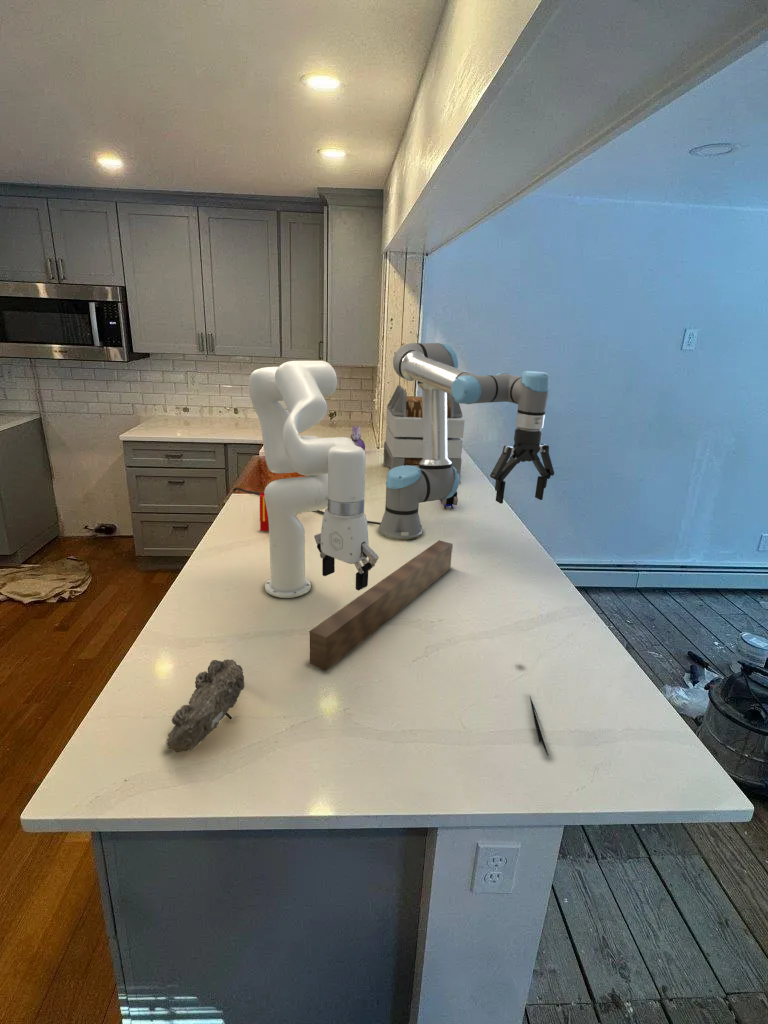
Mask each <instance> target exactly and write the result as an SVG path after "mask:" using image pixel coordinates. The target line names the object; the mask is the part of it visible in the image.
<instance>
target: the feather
mask: <svg viewBox="0 0 768 1024" xmlns="http://www.w3.org/2000/svg"><path fill="white" fill-rule="evenodd" d="M529 701H530V706H531V710H532V715H533V721H534V726H535V729H536V733H537V738H538V743H539V744H540V743H541V744H542V746H543V748H544V750H545V752H546V755H547V756H549V753H548V750H547V747H546V744H547V746H549V745H548V744H549V743H546V742H545V740H544V738H546V737H547V736H546V734H545V731H544V727H543V726H540V724H542V722H541V721H540V717H539V715H538V712H537V710H536V708H535V705H534V702H533V700H532V698H531V696H529ZM545 743H546V744H545Z"/></svg>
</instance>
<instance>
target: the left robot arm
mask: <svg viewBox="0 0 768 1024" xmlns="http://www.w3.org/2000/svg"><path fill="white" fill-rule="evenodd" d="M337 387H338V377H337V373H336V370H335V369H334V367H333V366H332V364H330V363H329V362H327V361H326V360H289V361H286V362H283V363H281V364H280V365H279V366H266V367H261V368H257V369H255V370H253V371H252V372H251V374H250V375H249V378H248V393H249V396H250V401H251V403H252V406H253V409H254V410H255V412H256V415H257V418H258V420H259V425H260V430H261V438H262V445H263V452H264V459H265V464H266V467H267V470H268V471H269V472H270V473H273V474H291V473H292V474H293V473H297V474H299V475H301V476H299V477H298V476H295V477H287V478H285V477H284V478H278V479H275V480H272V481H270V482H269V483H268V484H267V485H266V486H265V488H264V491H263V493H264V497H265V503H266V508H267V513H268V521H269V531H268V538H269V539H268V540H269V574H270V578H269V579H268V580H267V581H266V582H265V583H264V591H265V592H266V593H267V594H269V596H273V597H276V598H282V599H292V598H297V597H301V596H303V595H305V594H308V592H309V591H310V590H311V587H312V585H311V583H312V582H311V581H310V580H309V578H307V577H306V531H305V530H306V529H305V526H304V524H303V522H301V521H300V519H299V518H297V515H298V514H303V513H310V512H316V511H318V510H320V511H323V510H324V511H323V512H324V514H323V516H322V522H321V528H320V530H321V531H320V533H317V534H315V535H314V536H313V538H314V541H315V544H316V548H317V550H318V552H319V553H320V554H319V558H320V559H322V561H321V562H322V564H321V565H322V567H321V569H322V571H321V572H322V576H323V577H328V576H329V575H332V574H334V573H335V572H336V571H335V564H336V563H335V562H336V561H335V560H337V561H341V562H343V563H346V564H349V565H354V566H355V568H356V570H357V572H356V573H355V590H356V591H361V590H363V589H365V588H367V587H368V586H369V571H371V569H373V568H374V567H375V566H376V563H377V562H378V560H379V555H378V553H376V552H375V550H373V549H372V548H371V546H369V528H368V523H367V521H368V519H367V514H366V513H365V496H366V492H365V491H366V489H365V488H366V460H367V459H366V452H365V451H366V450H365V451H364V450H363V449H362V448H361V447H359V446H356V445H355V444H354V442H353V441H352V439H351V438H349V437H346V436H336V437H334V436H333V437H318V436H315V435H312V434H311V435H309V434H308V435H300V434H301V433H303V432H305V431H307V430H309V429H311V428H312V427H314V426H316V425H318V424H319V423H320V422H322V420H324V418H325V417H326V415H327V412H328V404H327V401H326V399H325V398H328V397H331V396H333V394H334V393H335V392H336V390H337ZM281 402H284V404H285V406H286V407H285V406H284V405H283V404H281Z"/></svg>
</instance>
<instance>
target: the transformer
mask: <svg viewBox="0 0 768 1024" xmlns="http://www.w3.org/2000/svg"><path fill="white" fill-rule="evenodd" d="M407 394H408V393H407V390H406V389H404V388H403V387H402V385H399V384H398V385H397V386H396V388H395V390H394V392H393V394H392V395H391V398H390V400H389V402H388V404H387V405H386V413H385V414H386V415H385V423H386V428H385V438H384V442H383V466H384V467H388V468H389V471H390V470H391V469H393V468H395V467H398V466H404V465H406V466H409V465H412V466H417V467H419V463H420V461H421V460H422V459H423V417H422V396H415V395H414V396H413V395H412V396H411V395H407ZM464 429H465V419H464V418H463V411H462V408H461V405H460V403H457V402H456V401H455V399H454V398H453V397H452V395H451V394H448V393H447V457H448V459H449V460H450V461H451V462H452V467H454V468H455V469H456V470H457V473H458V476H459V483H461V472H462V461H463V460H462V453H463V442H464V441H463V440H462V439H463V438H464V431H465V430H464Z"/></svg>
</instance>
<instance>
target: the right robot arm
mask: <svg viewBox="0 0 768 1024" xmlns="http://www.w3.org/2000/svg"><path fill="white" fill-rule="evenodd" d="M392 367H393V369H394V372H395V373H396V374H397V375H398V376H399V377H400V378H402V379H404V380H407V381H409V382H415V381H417V386H418V387H419V388H420V389H421V397H422V417H423V459H422V460H421V461H420V463H419V466H412V465H409V466H407V465H404V466H398V467H395V468H393V469H391V470H390V469H389V470H388V472H387V475H386V479H385V504H384V505H385V507H384V508H385V509H384V513H383V515H382V519H381V522H378V521H372V520H367V524H370V525H372V524H373V525H377V526H378V525H379V526H378V533H379V534H380V535H381V536H382V537H385V538H387V539H389V540H395V541H410V540H415V539H418V538H420V537H421V536H422V535H423V525H422V524H421V518H420V515H419V507H420V506H419V505H420V504H421V503H426V502H434V501H440V500H443V499H446V498H450V497H452V496H453V495H454V494H455V493H456V491H457V492H458V488H459V484H460V482H459V476H458V473H457V470H456V469H455V468H454V467H452V462H451V461H450V460H449V459H448V457H447V393H448V394H451V395H452V397H453V398H454V399H455V401H456V402H457V403H459V405H460V404H461V405H463V404H464V405H472V404H473V405H474V404H486V403H487V404H488V403H511V404H516V405H517V413H516V420H515V426H516V428H515V429H514V436H513V442H514V443H513V446H509V445H506V444H505V445H504V446H503V448H502V452H501V454H500V456H499V458H498V460H497V462H496V463H495V465H494V467H493V469H492V471H491V473H490V474H489V478H492V479H493V480H495V485H494V491H496V494H495V502H497V503H498V504H502V505H503V504H504V496H505V488H506V481H505V479H506V478H507V477H508V476H509V474H510V473H511V472H512V471H513V469H514V468H515V467H516V466H517V465H518V464H520V463H521V462H522V463H525V462H532V463H533V465H534V467H535V469H536V470H537V471H538V473H539V475H538V476H537V480H536V485H535V493H534V498H535V499H537V500H540V501H543V500H544V491H545V489H546V488H547V483H548V480H549V479H551V478H552V477H551V476H555V470H554V467H553V463H552V459H551V456H550V446H549V445H548V444H546V443H542V438H543V430H542V429H544V424H545V418H546V411H547V410H546V409H547V404H548V397H549V392H550V381H551V376H550V374H549V373H547V372H544V371H536V370H525V371H523V372H522V375H521V376H518V375H513V374H510V373H506V372H504V373H502V372H499V373H498V372H497V373H495V374H490V375H488V374H487V375H479V374H478V375H477V374H475V373H471V372H469V371H465V370H464V369H460V368H459V358H458V355H457V352H456V350H455V349H454V348H453V347H452V346H451V345H449V344H447V343H440V342H410V343H406V344H404V345H401V346H400V347H399V348H398V349H397V350H396V352H395V353H394V355H393V358H392ZM538 453H540V457H541V458H540V457H539V455H538ZM541 460H542V461H541ZM237 490H238V491H241V492H243V493H247V494H253V495H258V496H260V493H261V492H258V491H252V490H247V489H243V488H241V487H234V488H233V489H232V491H233V492H235V491H237ZM315 512H316V513H318V514H321V515H324V512H325V511H323V510H318V511H315Z"/></svg>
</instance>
